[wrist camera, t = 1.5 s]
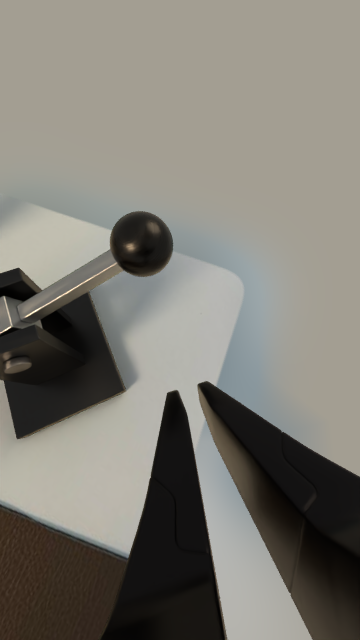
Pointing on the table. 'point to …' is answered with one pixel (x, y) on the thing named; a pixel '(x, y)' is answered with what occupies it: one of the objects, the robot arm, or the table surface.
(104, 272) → the ball knob lever
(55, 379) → the lever base
